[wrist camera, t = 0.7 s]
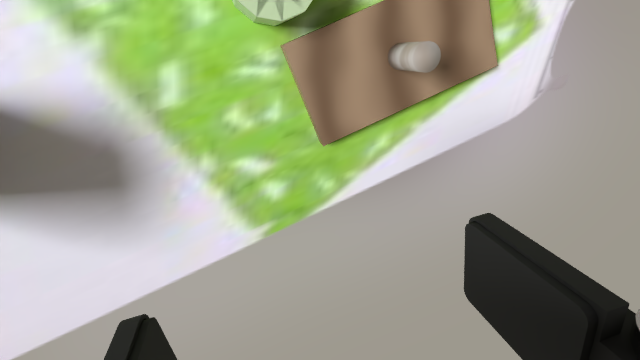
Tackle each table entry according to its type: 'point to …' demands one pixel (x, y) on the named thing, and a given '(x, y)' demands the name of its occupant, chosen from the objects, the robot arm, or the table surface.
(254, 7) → the ring
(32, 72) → the table surface
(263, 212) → the table surface
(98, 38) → the table surface
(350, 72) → the post stand
